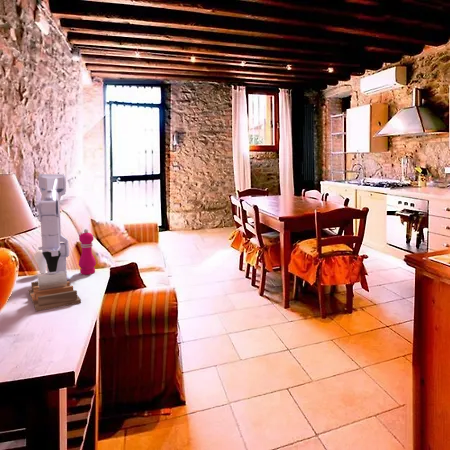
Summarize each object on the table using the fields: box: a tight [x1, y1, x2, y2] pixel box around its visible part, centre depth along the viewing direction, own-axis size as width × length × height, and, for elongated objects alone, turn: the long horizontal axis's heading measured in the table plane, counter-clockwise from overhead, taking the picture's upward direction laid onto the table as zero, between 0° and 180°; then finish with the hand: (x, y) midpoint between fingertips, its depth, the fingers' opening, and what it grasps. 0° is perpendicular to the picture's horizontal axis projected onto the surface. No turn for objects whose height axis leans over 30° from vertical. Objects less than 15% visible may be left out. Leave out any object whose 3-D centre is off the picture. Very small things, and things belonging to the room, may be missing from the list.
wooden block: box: [37, 270, 68, 291], centre depth 126 cm, size 9×3×8 cm, turn 125°
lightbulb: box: [33, 249, 47, 274], centre depth 153 cm, size 6×6×11 cm
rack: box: [28, 280, 82, 312], centre depth 127 cm, size 20×14×4 cm
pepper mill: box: [78, 228, 97, 276], centre depth 156 cm, size 7×7×20 cm
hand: (52, 271), depth 125 cm, fingers closed
